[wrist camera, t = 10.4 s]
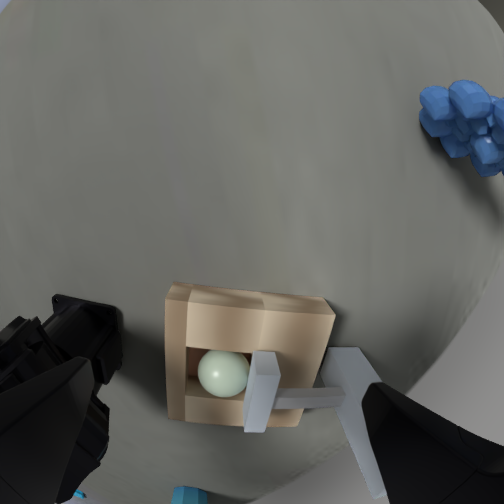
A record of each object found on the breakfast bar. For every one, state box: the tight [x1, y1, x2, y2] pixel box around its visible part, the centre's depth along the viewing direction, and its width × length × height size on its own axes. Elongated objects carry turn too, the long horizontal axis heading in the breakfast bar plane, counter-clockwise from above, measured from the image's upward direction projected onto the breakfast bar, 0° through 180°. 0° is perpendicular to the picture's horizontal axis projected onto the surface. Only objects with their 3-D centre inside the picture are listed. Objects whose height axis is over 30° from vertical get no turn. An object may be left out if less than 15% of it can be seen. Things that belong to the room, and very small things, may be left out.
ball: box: [198, 350, 250, 397], centre depth 20 cm, size 4×4×4 cm
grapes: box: [419, 80, 504, 177], centre depth 13 cm, size 12×7×12 cm, turn 64°
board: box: [165, 282, 336, 427], centre depth 21 cm, size 12×12×3 cm
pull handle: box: [242, 347, 387, 499], centre depth 16 cm, size 10×6×14 cm, turn 82°
